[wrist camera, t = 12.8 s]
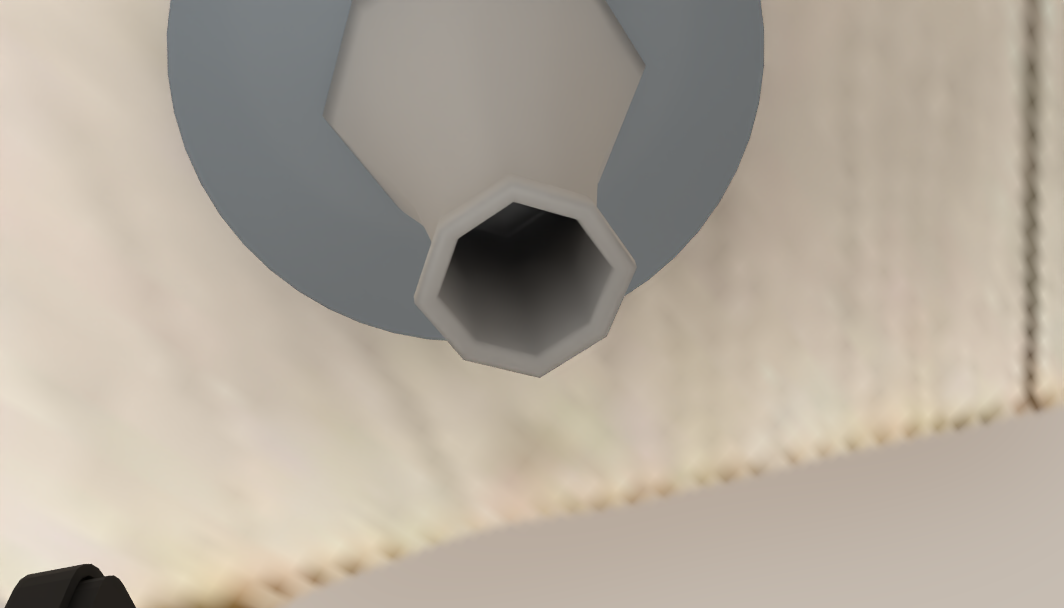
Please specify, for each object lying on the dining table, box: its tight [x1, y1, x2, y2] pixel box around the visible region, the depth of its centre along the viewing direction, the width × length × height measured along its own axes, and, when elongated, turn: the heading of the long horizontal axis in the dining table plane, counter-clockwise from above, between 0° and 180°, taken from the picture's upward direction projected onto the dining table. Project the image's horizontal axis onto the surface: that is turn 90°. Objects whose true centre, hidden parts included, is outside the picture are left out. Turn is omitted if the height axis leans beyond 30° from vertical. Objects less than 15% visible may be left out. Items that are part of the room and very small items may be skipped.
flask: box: [323, 0, 646, 378], centre depth 19 cm, size 7×7×10 cm
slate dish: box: [167, 0, 764, 340], centre depth 24 cm, size 14×14×1 cm
